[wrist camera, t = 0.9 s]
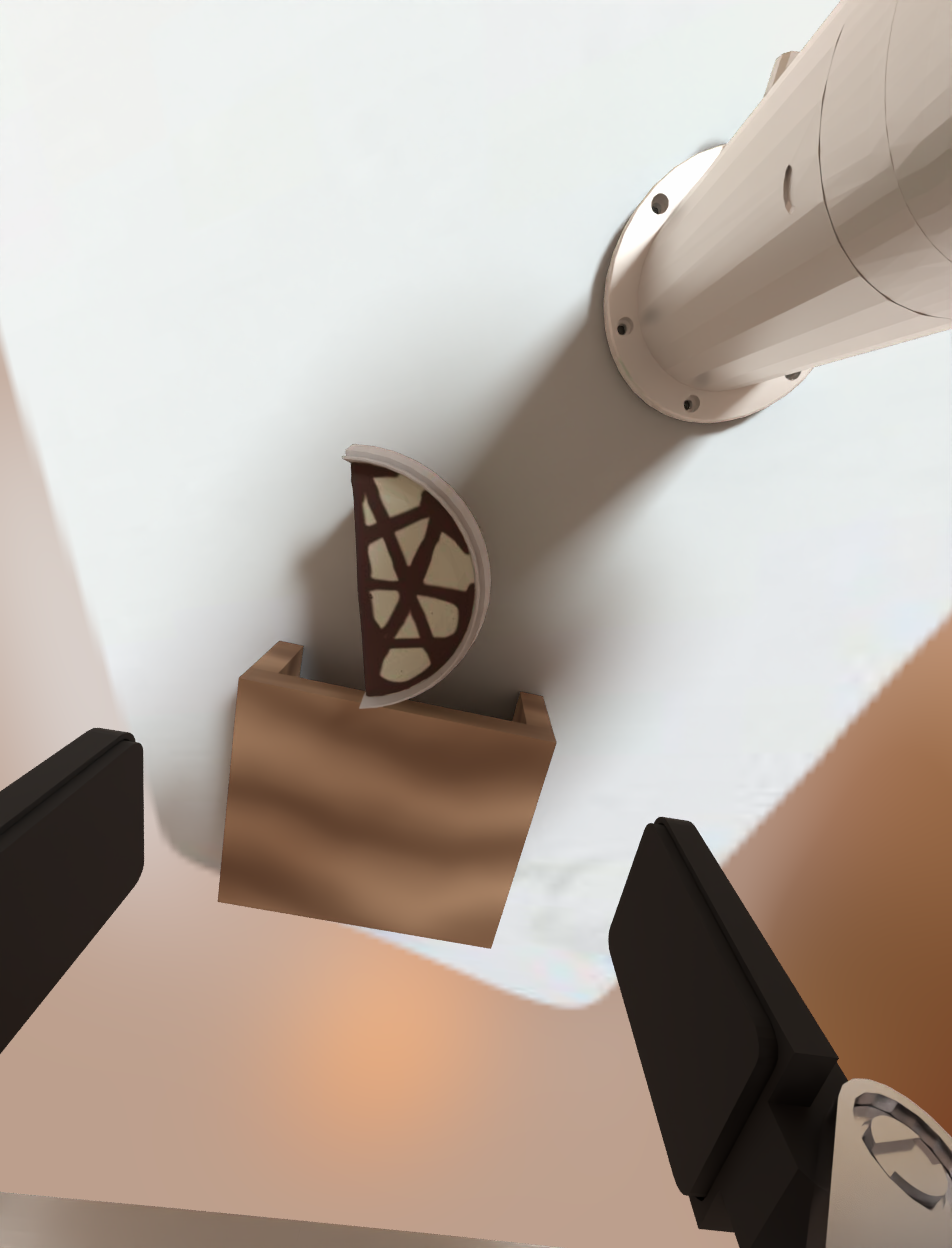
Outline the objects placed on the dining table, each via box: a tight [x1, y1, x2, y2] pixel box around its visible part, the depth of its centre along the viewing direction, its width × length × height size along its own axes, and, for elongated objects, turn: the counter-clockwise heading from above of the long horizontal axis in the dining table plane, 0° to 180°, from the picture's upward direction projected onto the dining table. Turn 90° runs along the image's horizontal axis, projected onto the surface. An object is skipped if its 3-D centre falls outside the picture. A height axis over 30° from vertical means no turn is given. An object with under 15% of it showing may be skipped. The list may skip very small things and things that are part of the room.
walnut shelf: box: [218, 641, 556, 949], centre depth 33 cm, size 16×18×6 cm
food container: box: [342, 444, 491, 709], centre depth 27 cm, size 12×6×10 cm, turn 179°
